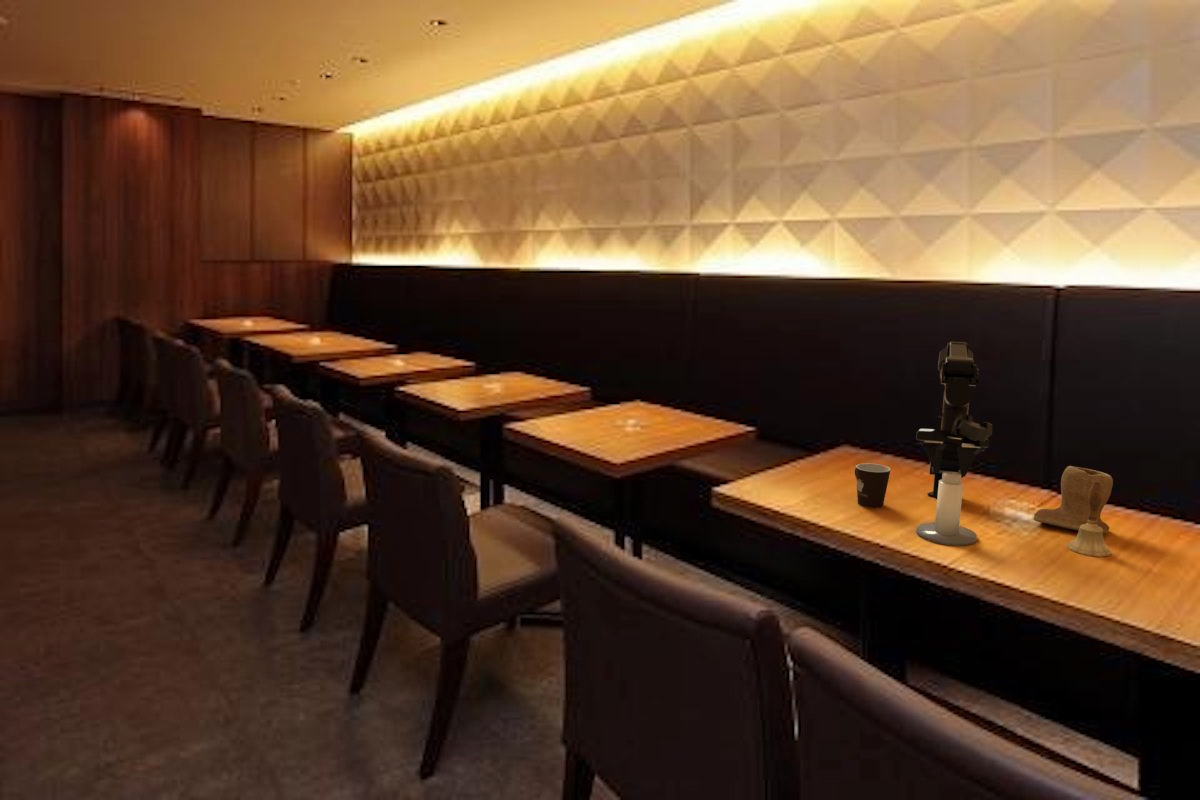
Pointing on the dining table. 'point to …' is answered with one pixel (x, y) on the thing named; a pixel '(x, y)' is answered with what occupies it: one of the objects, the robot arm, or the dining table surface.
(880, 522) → the dining table surface
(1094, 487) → the hand bell
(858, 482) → the coffee mug
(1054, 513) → the brown boot
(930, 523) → the slate plate
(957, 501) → the capped bottle
